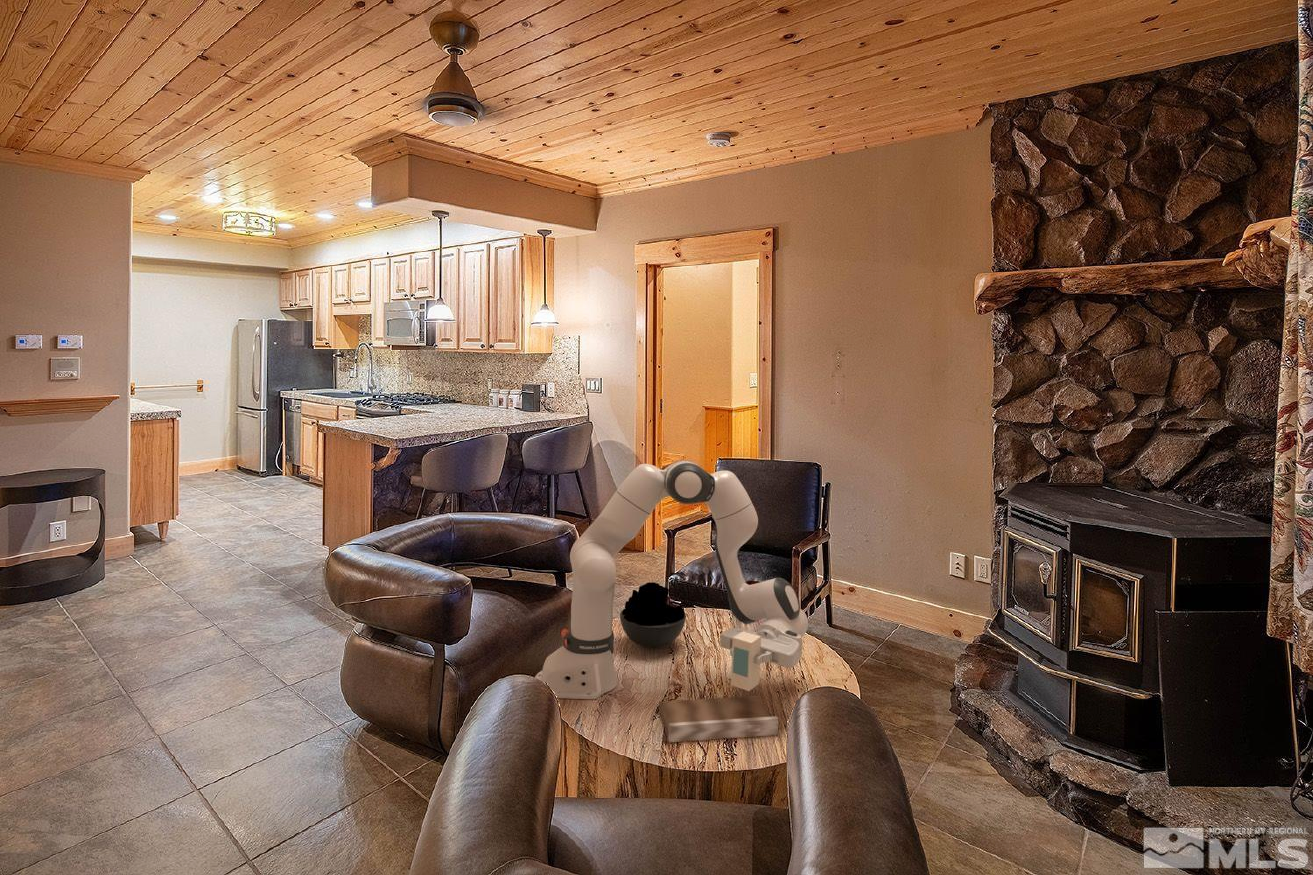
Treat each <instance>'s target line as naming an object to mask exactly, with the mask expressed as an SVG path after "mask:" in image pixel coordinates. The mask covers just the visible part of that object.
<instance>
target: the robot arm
mask: <svg viewBox="0 0 1313 875" xmlns="http://www.w3.org/2000/svg"><path fill="white" fill-rule="evenodd" d="M669 497H671V498H672V499H673V500H674V501H675V502H677V503H679V504H682V505H694V504H700V503H704V504H706V506H707V507H708V509H709V511H710V513H711V515H712V518H713V519H714V522H715V525H716V530H717V532H716V533H717V534H716V537H715V538H714V550H715V555H716V558H717V561H718V564H719V568H720V572H721V575H722V577H723V582H724V584H725V588H726V592H727V596H728V603H729V609H730V611H731V614H732V616H734V618H735V619H736V620H738V621H739V622H740V623H743V624H745V625H751V623H753V624H754V623H756V622H759V621H762V620H765V621H764V622H762V623H760V624H759V625H758V626H756V627H755V629H753V631H751V630H750V629H747V628H744V627H741V626H739V627H738V626H736V627H731V628H729V629H727V630H724V631H723V632H721V633H720V638H719V639H720V641H719V643H720V647H722V648H723V649H727V650H730V653H729V656H731V657H732V645H733V637H735V636H736V635H738V634H739V633H741V632H743V631H744V632H747V633H751V634H754V635H758V636H761V651H760V655H759V654H757V655H756V656H754V663H756V664H759V665H760V666H761V665H762V664H766V663H771V664H775V665H777V666H781V667H783V668H786V669H787V668H788V669H789V668H794V667H795V666H796V665H798V663H799V661H801V659H802V654H803V637H804V636H805V634H806V632H807V631H808V628H809V619H808V617H807V614H806V613H805V611H804V610H803V609H801V605H800V604H801V603H800V598H799V596H798V593H797V591H796V589H795V588H794V586H793V585H792V584H791V583H790V582H789V581H787V580H786V579H784V578H782V577H775V578H772V579H767V580H763V581H759V582H760V583H756V584H752V585H748V584H746V583H745V582H746V581H745V579H744V576H743V572H742V569H741V565H740V562H739V559H738V552H739V550H740V549H741V547H742V546H743V545H745V544H746V543H747V542H748V541H749V540H750V539H751V538H752V537H753V535H754V534H755V533H756V531H757V528H758V525H759V517H758V513H757V511H756V508H755V506H754V504H753V502H752V500H751V498H750V496H749V494H748V492H747V490H746V489H745V487H744V486H743V484H742V482H741V481H740V480H739V478H738V477H737V476H736V474H735V473H733V472H732V471H730V470H718V471H716V472H713V473H709V472H708V471H706V470H705V469H703V468H702V467H701V466H700V465H699V464H698V463H696V462H694V461H693V460H689V459H688V460H687V459H679V460H676V461H673V462H671V463H669V464H668V465H666V466H664V467H661V468H659V467H657V466H656V465H653V464H651V463H641V464H638V465H637V466H636V467H635V468H634V469H633V470H632V471H631V472H630V473H629V474H628V475H627V476H626V477H625V479H624V480H623V481H622V482H621V484H620V485H619V487H618V488H617V489H616V491H615V492H614V494H613V495H612V496H611V498H610V500H609V501H608V502H607V504H606V505H605V507H604V508H603V509H602V511H601V512H600V513H599V515H598V516H597V517H596V519H595V520H594V521H593V522H592V523H590V525H589V526H588V528H586V530H585V531H584V532H583V533H582V534H581V535H580V537H579V538H577V539H576V540H575V541H574V543H573V544H572V547H571V549H570V552H569V561H570V565H571V570H572V594H571V595H572V596H571V606H570V608H571V609H570V631H569V630H568V629H567V628H564V629H562V630H561V637H562V642H563V645H561V646H560V647H559V648H557V650H556V649H555V651H554V652H552V653H551V654H549V655H548V656H547V657H546V658H545V660H544V664H543V666H542V670H540V671H539V672H538V673H537V674H536V675H535V676H534V679H535V678H537V679H539V680H541V681H542V682H546V683H548V686H549V687H550V688H551V689H552V690H553V691H554V692H555V695H556V696H557V698H556V699H573V700H579V699H580V700H596V699H598V698H600V697H601V696H602V695H603V694H606V693H608V692H610V691H612V690H614V689H615V688H616V687H617V686H618V683H619V679H618V677H617V674H616V673H617V672H616V669H615V662H614V650H615V634H614V631H613V613H614V610H613V608H614V607H613V605H614V597H615V588H616V577H617V562H615V561H616V560H615V557H616V556H617V555H618V553H620V552H621V551H622V549H623V548H624V547H625V546H626V545H627V544H629V542H630V541H632V540H634V539H635V538H636V536H637V535H638V533H639V532H640V530H641V529H642V527H643V526H644V524H645V523H646V521H647V520H648V519H649V517H650V516H651V514H652V513H653V511H654V510H655V508H656V507H657V505H659V503H660V502H661V501H662V500H663V499H665V498H669Z"/></svg>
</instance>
